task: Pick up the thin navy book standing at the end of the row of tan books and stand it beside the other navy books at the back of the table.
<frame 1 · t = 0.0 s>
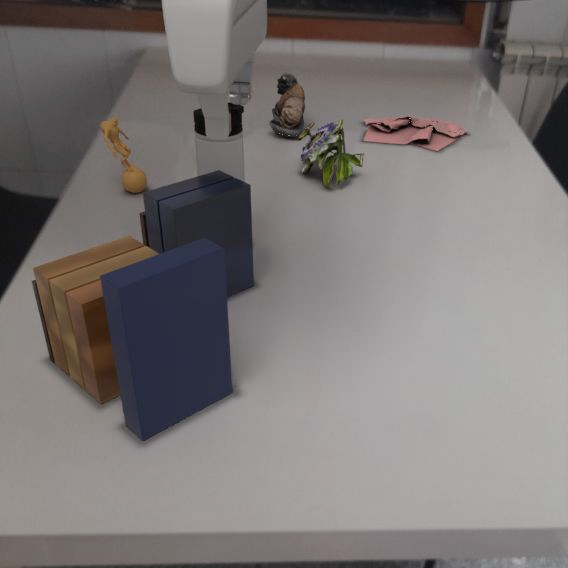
hand: (230, 118, 62), 28 cm above the table, tool pointing down, fingers open, 8 cm apart
figurine: (129, 192, 117), on the table
passion flower: (329, 177, 126), on the table
navy book: (181, 408, 73), on the table
tan books: (139, 376, 77), on the table
navy books: (213, 296, 91), on the table
cloth: (408, 133, 147), on the table
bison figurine: (287, 132, 144), on the table
travel mug: (226, 246, 103), on the table
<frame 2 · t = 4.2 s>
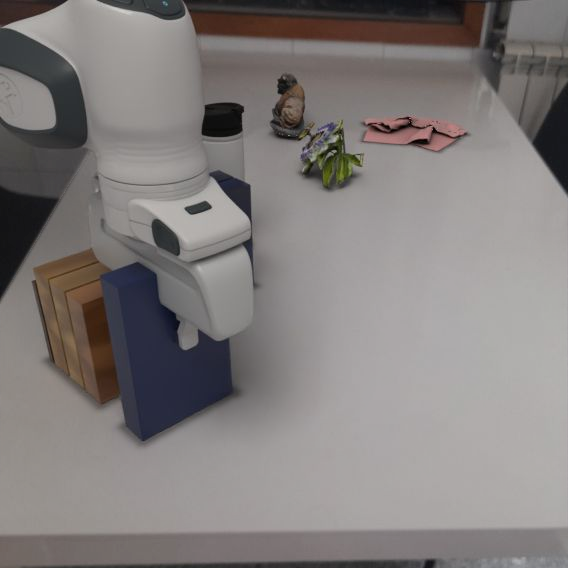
hand: (172, 335, 68), 9 cm above the table, tool pointing down, fingers closed on navy book, 3 cm apart
navy book: (181, 408, 73), on the table, touching gripper
everything else where it was.
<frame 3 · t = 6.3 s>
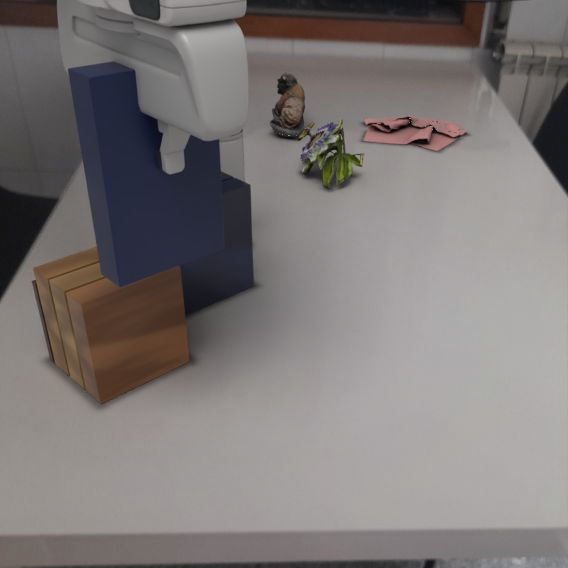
hand: (155, 162, 59), 26 cm above the table, tool pointing down, fingers closed on navy book, 3 cm apart
navy book: (165, 261, 64), point 17 cm above the table, touching gripper
everything else where it was.
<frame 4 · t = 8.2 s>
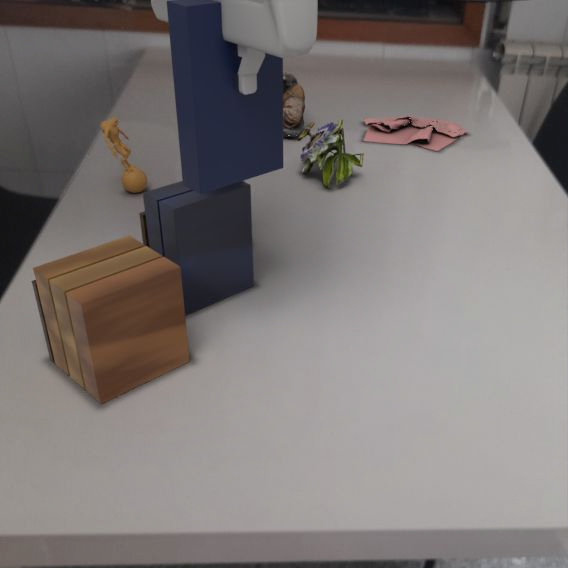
hand: (230, 87, 70), 28 cm above the table, tool pointing down, fingers closed on navy book, 3 cm apart
navy book: (234, 176, 75), point 19 cm above the table, touching gripper
everything else where it was.
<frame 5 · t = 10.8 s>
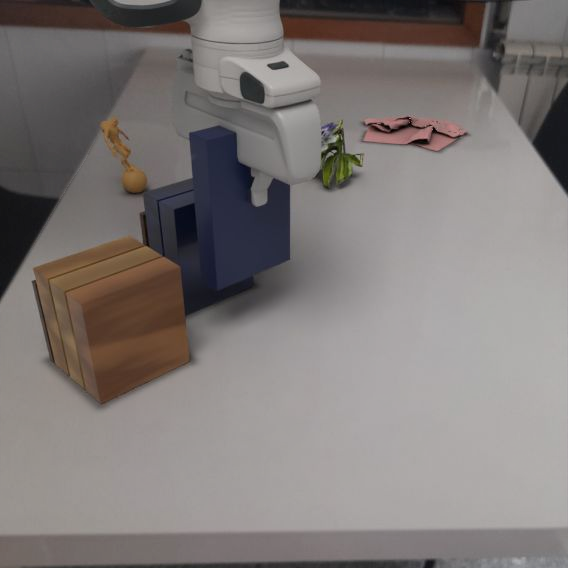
hand: (244, 197, 78), 16 cm above the table, tool pointing down, fingers closed on navy book, 3 cm apart
navy book: (247, 270, 84), point 7 cm above the table, touching gripper
everything else where it was.
when the fingers open (9 cm above the table, at t = 12.6 s): navy book stays where it is, on the table.
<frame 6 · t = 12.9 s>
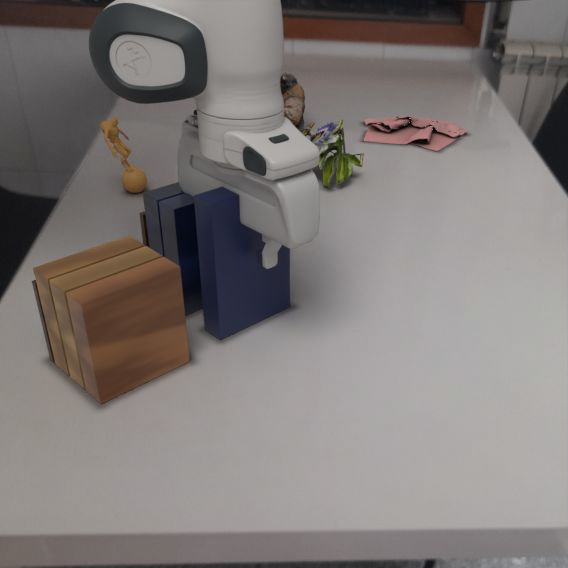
hand: (246, 253, 82), 9 cm above the table, tool pointing down, fingers open, 6 cm apart
navy book: (248, 318, 88), on the table
everything else where it was.
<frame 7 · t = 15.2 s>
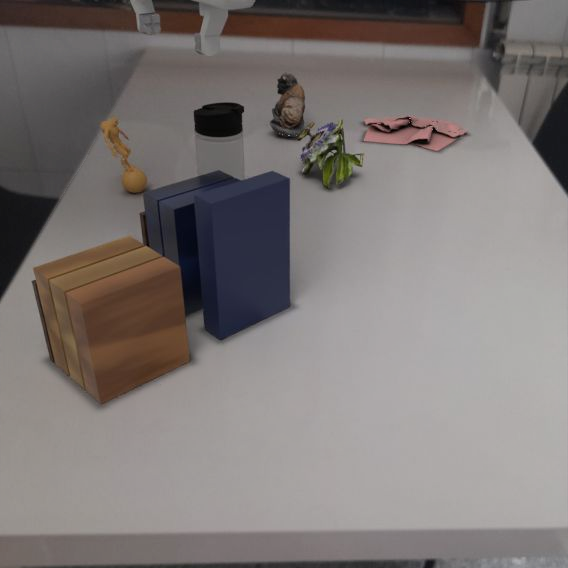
hand: (177, 43, 69), 31 cm above the table, tool pointing down, fingers open, 8 cm apart
nothing on the table moved.
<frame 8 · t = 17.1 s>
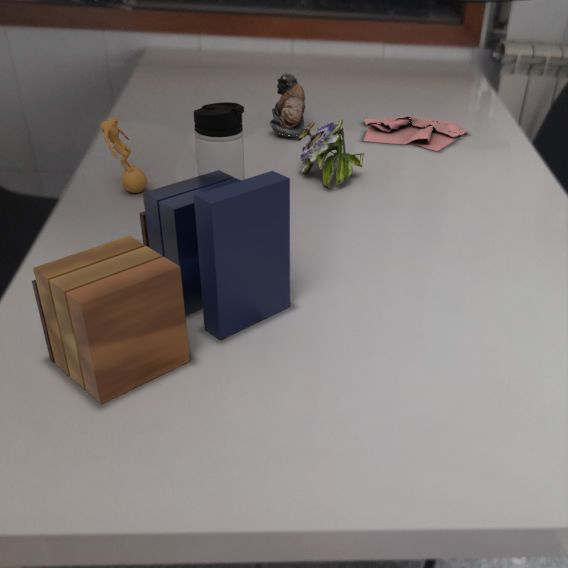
nothing on the table moved.
at the end: navy book 0.3 cm from the target spot on the table beside the navy books, on the table; navy book tilted 0° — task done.
